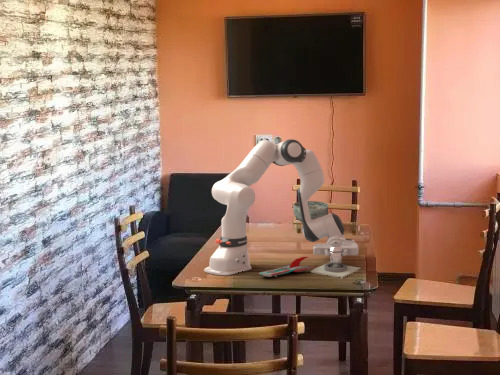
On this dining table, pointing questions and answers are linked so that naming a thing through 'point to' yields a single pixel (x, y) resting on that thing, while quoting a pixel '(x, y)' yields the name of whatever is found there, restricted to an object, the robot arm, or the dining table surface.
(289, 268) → the toy spaceship
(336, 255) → the piston
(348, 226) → the dining table surface
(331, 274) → the ring plate
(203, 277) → the dining table surface
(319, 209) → the bowl
